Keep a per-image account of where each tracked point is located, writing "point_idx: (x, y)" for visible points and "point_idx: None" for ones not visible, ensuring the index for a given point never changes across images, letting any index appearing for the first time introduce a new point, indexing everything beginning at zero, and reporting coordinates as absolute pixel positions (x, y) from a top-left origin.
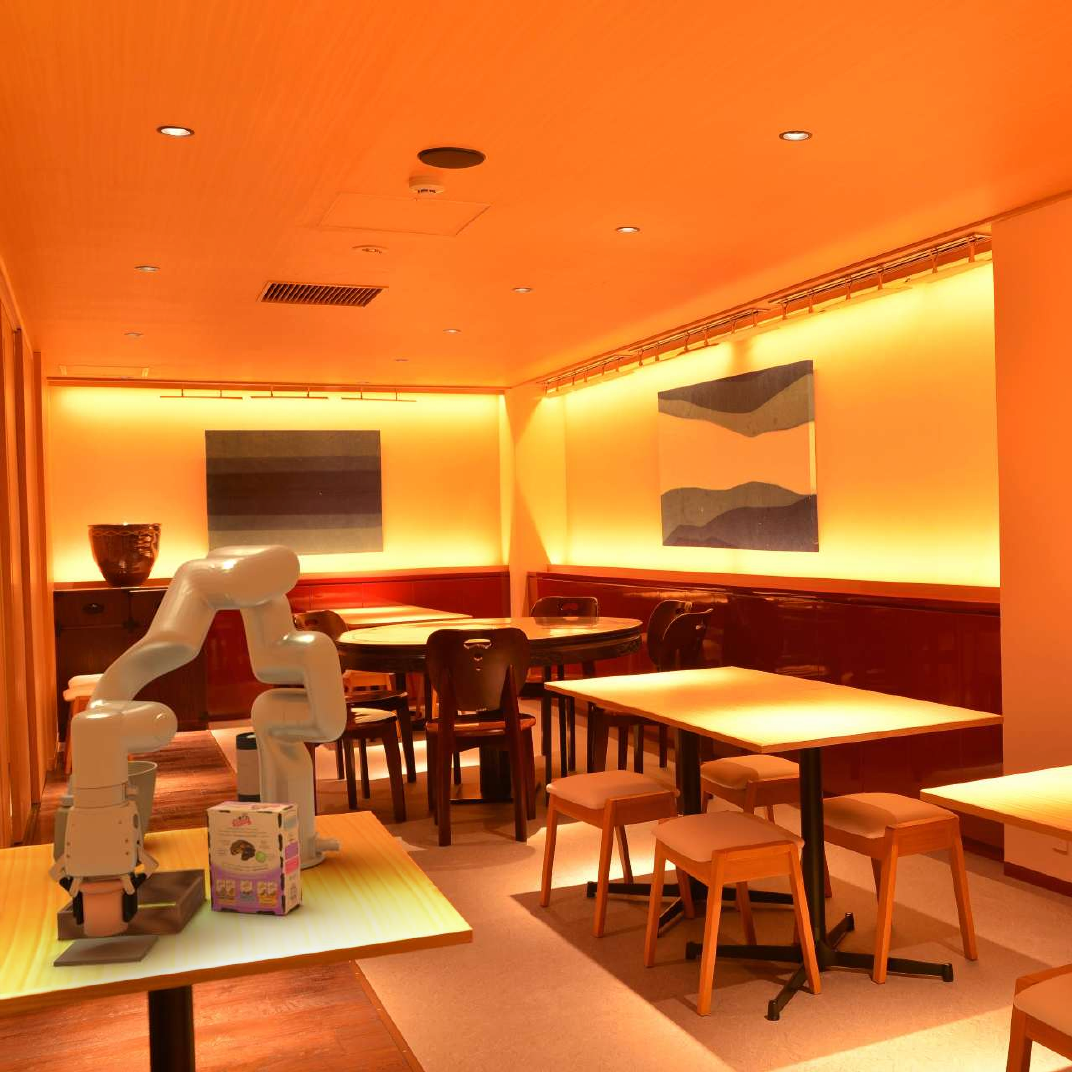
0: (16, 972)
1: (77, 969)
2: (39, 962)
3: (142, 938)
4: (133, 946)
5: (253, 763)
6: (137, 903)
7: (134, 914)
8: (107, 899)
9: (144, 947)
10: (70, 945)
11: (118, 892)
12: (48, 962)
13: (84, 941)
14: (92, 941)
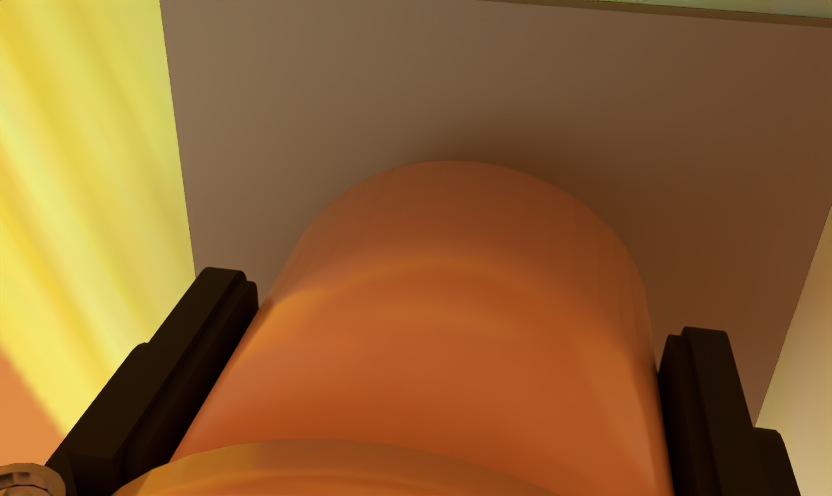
0: (54, 376)
1: None
2: (97, 273)
3: (736, 105)
4: (677, 264)
5: None
6: (795, 487)
7: (722, 338)
8: None
9: (765, 306)
10: (175, 117)
11: None
12: (153, 288)
13: (246, 49)
14: (312, 64)
